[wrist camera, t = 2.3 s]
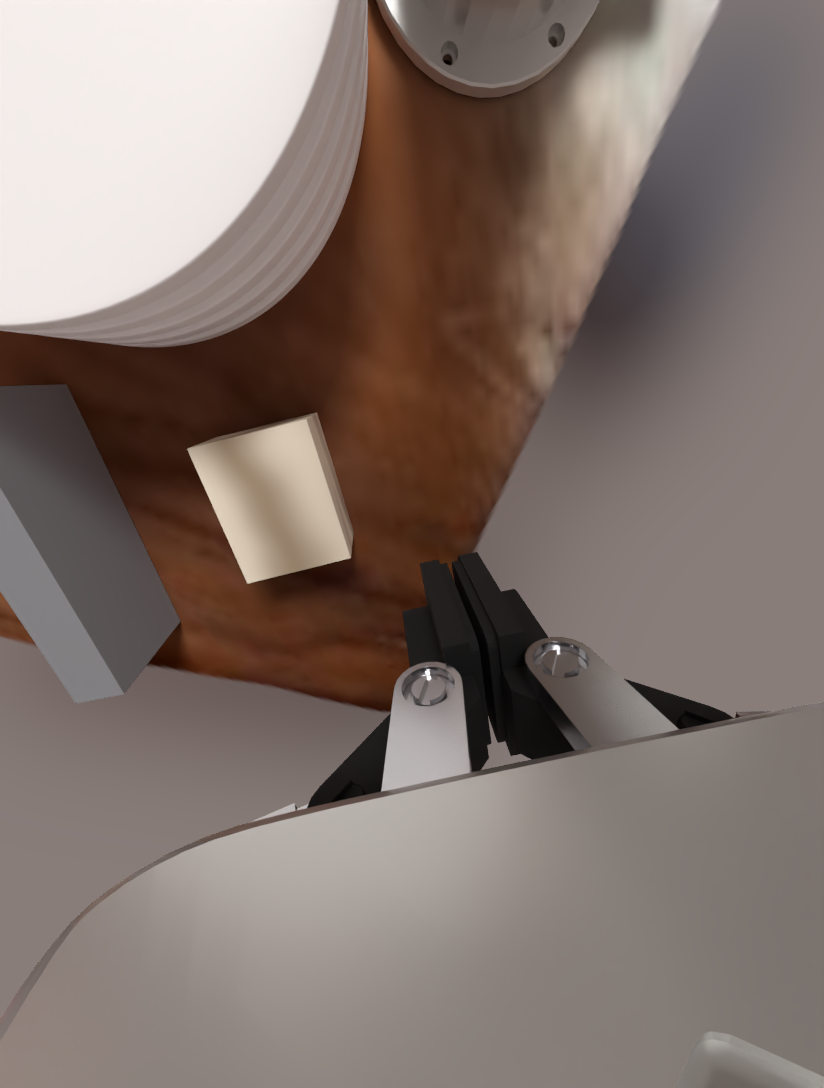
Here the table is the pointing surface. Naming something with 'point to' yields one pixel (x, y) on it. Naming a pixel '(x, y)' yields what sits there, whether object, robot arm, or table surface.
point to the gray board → (73, 549)
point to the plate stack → (171, 160)
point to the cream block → (276, 497)
